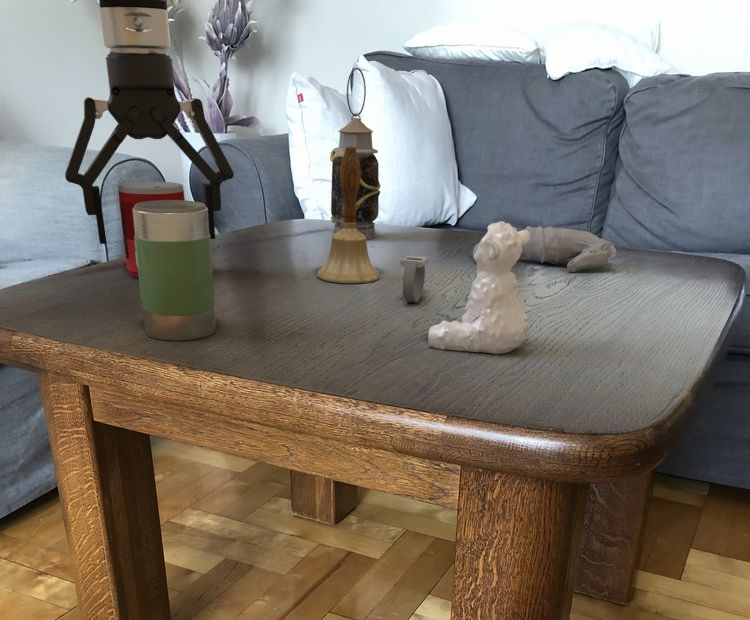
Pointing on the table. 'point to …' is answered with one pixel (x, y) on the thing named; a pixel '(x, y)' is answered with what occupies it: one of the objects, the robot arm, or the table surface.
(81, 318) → the table surface
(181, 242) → the tin can
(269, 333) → the table surface
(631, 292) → the table surface
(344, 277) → the hand bell
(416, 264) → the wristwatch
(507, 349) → the seated beast figurine
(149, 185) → the canned food
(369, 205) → the lantern
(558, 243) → the seahorse
